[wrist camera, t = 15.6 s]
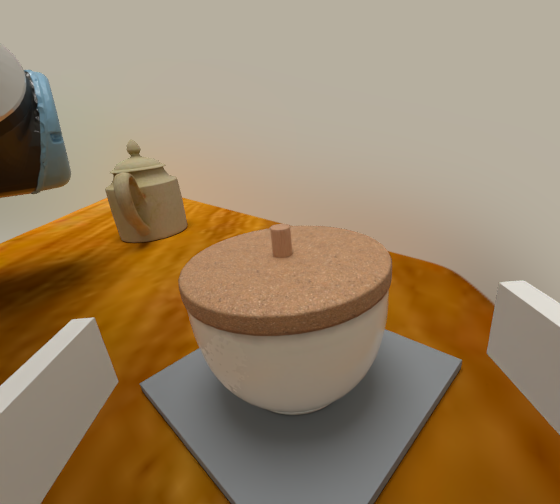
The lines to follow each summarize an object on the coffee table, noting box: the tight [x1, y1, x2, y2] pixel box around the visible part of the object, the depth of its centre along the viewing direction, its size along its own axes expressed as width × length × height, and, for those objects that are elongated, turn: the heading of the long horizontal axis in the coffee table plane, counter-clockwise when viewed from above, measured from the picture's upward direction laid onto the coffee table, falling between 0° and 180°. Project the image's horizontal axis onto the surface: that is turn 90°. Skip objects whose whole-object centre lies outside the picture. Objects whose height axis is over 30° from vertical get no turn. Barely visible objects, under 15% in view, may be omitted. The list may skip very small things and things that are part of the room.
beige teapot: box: [105, 140, 187, 243], centre depth 50 cm, size 15×11×15 cm
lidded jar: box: [179, 224, 392, 415], centre depth 18 cm, size 11×11×9 cm
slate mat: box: [140, 330, 462, 504], centre depth 20 cm, size 14×14×1 cm
